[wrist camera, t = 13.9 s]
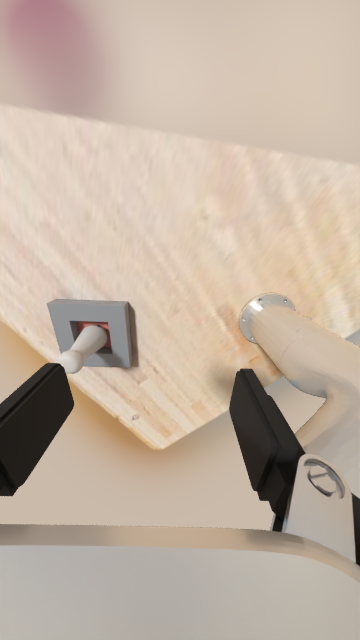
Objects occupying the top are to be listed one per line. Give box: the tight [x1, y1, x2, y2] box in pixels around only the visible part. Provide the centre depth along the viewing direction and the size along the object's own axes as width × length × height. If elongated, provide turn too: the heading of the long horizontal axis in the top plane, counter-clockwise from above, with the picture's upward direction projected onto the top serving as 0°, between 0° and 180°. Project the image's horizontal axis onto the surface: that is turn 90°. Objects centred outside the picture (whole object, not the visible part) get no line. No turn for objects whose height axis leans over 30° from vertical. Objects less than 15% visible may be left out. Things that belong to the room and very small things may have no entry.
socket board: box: [47, 299, 133, 368], centre depth 41 cm, size 16×16×3 cm
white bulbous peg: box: [57, 325, 107, 374], centre depth 36 cm, size 6×6×13 cm
